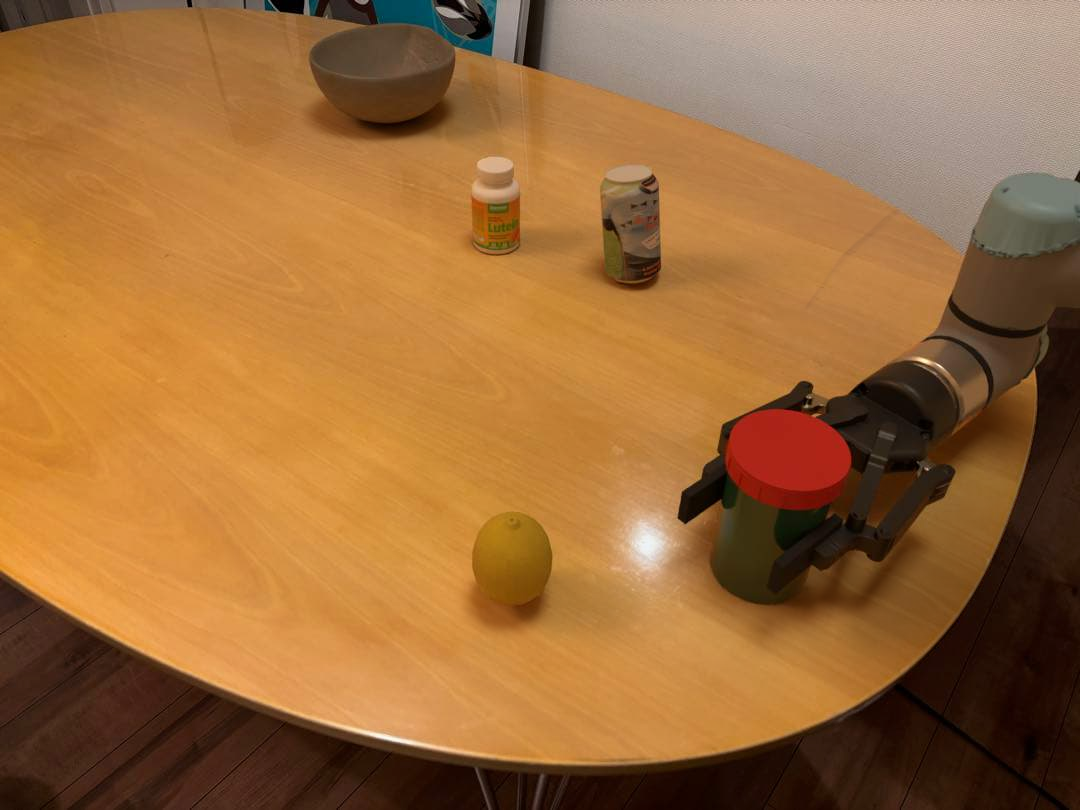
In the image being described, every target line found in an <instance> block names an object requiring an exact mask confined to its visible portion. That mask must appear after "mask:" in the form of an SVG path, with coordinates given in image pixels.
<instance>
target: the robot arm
mask: <svg viewBox="0 0 1080 810" xmlns="http://www.w3.org/2000/svg"><path fill="white" fill-rule="evenodd" d="M966 248H967V249H966V251H965V254H964V256H963V260H962V262H961V265H960V268H959V271H958V274H957V277H956V279H955V283H954V286H953V289H952V291H951V293H950V295H949V297H948V299H947V302H946V306H945V308H944V310H943V313H942V316H941V318H940V321H939V324H938V326H937V327H936V329H935V330H934V331H933V332H932V333H930V334H929V335H927V336H926V337H925V338H924V339H922V340H921V341H920V342H918V343H916V344H914V345H913V346H911V347H910V348H908V349H907V350H906V351H904V352H902V353H901V354H899V355H898V356H897V357H895V358H894V359H892V360H891V361H889V362H888V363H886V364H885V365H884V366H883V367H881V368H879V369H878V370H876V371H875V372H873V373H872V374H870V375H869V376H867V377H866V378H864V379H863V380H861V381H860V382H859V383H858V384H857V385H855V386H854V387H853V388H852V389H851V390H850V391H849V392H848V393H847V394H843V395H837V396H834V397H831V398H830V399H828V398H826V397H824V396H821V395H820V394H817V393H814V392H813V391H814V384H813V383H812V382H810V381H808V380H801V381H799V382H797V384H796V385H795V386H794V387H793V388H792V390H790V392H789V393H786V394H785V395H783V396H780V397H778V398H776V399H773V400H771V401H769V402H767V403H765V404H763V405H761V406H759V407H756V408H754V409H752V410H750V411H748V412H745V413H744V414H741V415H739V416H737V417H735V418H733V419H731V420H729V421H726V422H724V423H723V424H722V425H721V428H720V433H719V438H718V442H717V448H716V452H717V453H718V456H716V457H714V458H713V459H711V460H710V461H708V462H707V463H705V464H704V466H703V468H702V472H701V478H700V479H698V480H697V481H695V482H693V484H691V485H690V486H688V487H687V488H685V489H684V490H682V491H681V495H680V501H679V507H678V513H677V520H679V521H680V522H682V524H684V525H687V524H688V523H690V522H691V521H692V520H693V519H695V518H696V517H698V516H699V515H701V514H702V513H704V512H705V511H707V510H708V509H710V508H711V507H712V506H714V505H715V504H717V503H718V502H720V501H721V500H722V495H723V491H724V486H725V481H726V476H727V472H728V471H727V467H726V455H725V451H726V446H727V441H729V438H730V434H731V431H732V429H733V427H734V426H735V425H736V424H737V423H738V421H740V420H741V419H742V418H744V417H745V416H747V415H749V414H752V413H755V412H758V411H763V410H771V409H783V410H791V411H797V412H801V413H804V414H807V415H810V416H814V415H816V416H814V417H815V418H817V419H819V420H821V421H823V422H825V423H826V424H828V425H829V426H831V427H832V428H833V429H835V430H836V431H837V432H838V433H839V434H840V435H841V436H842V438H843V439H844V440H845V442H846V443H847V445H848V447H849V450H850V453H851V467H850V468H851V469H853V471H856V472H857V473H859V474H860V475H861V474H862V476H861V479H860V482H859V485H858V487H857V490H856V493H855V496H854V499H853V501H852V504H851V506H850V509H849V511H848V515H847V517H846V520H845V519H844V518H843V517H841V516H840V515H839V514H837V513H835V512H834V513H832V514H831V515H830V516H828V518H827V519H826V520H825V521H824V522H822V523H821V524H820V525H819V526H817V527H816V528H815V529H814V530H812V531H811V532H810V533H809V534H807V535H806V536H805V537H803V538H802V539H801V540H800V541H798V542H797V543H796V544H795V545H793V546H792V547H791V548H790V549H788V550H787V551H786V552H784V553H783V554H782V555H781V556H779V557H778V558H777V559H776V560H774V562H773V566H772V569H771V573H770V576H769V580H768V583H767V587H766V588H768V589H769V590H770V591H771V592H773V593H774V594H775V595H776V594H777V593H778V592H779V591H780V590H782V589H783V588H784V587H785V586H787V585H788V584H789V583H790V582H791V581H793V580H794V579H795V578H796V577H797V576H799V575H800V574H801V573H802V572H804V571H805V570H806V569H807V568H808V567H810V566H811V565H812V567H814V568H816V569H817V570H818V571H820V572H824V571H827V570H829V569H830V568H831V567H833V565H835V564H836V563H837V562H839V561H840V560H841V559H843V558H844V557H845V556H846V555H847V554H848V553H850V552H853V551H859V552H862V553H865V554H866V557H867V558H868V559H869V560H870V561H871V562H874V563H882V562H883V561H885V559H887V557H888V556H889V554H890V553H891V552H892V550H893V549H894V548H895V547H896V545H897V544H898V543H899V542H900V540H901V539H902V538H903V536H904V535H905V534H906V533H907V531H909V529H910V527H911V526H912V525H913V524H914V523H915V521H916V520H917V519H918V517H919V516H920V515H921V513H922V512H923V511H924V510H925V508H926V507H928V506H929V505H931V504H934V503H936V502H938V501H940V500H942V499H945V497H946V496H947V492H948V490H949V488H950V486H951V483H952V481H953V479H954V478H955V474H956V469H955V468H954V466H952V465H950V464H948V463H941V464H938V465H936V463H934V462H932V460H930V459H929V458H928V456H929V455H930V454H932V453H933V452H934V451H935V450H936V449H938V448H939V447H941V445H943V444H944V443H945V442H946V441H947V440H949V438H950V437H952V436H953V435H955V434H956V433H957V432H958V431H959V430H961V429H962V428H964V427H965V426H966V425H967V424H968V423H970V422H971V421H972V420H973V419H975V418H976V417H977V416H978V415H980V414H981V413H982V412H983V411H984V410H985V409H986V408H987V407H989V406H990V405H992V404H993V403H994V402H995V401H997V400H998V399H999V398H1001V397H1002V396H1004V395H1005V394H1006V393H1008V392H1009V391H1010V390H1011V389H1013V388H1014V387H1016V386H1018V385H1020V384H1021V383H1022V381H1023V380H1026V379H1028V377H1029V376H1030V375H1031V374H1032V372H1033V371H1034V369H1035V368H1036V367H1037V366H1038V365H1039V364H1040V363H1041V362H1042V360H1043V359H1044V358H1045V356H1046V354H1047V351H1048V349H1049V345H1050V344H1049V343H1050V338H1049V331H1048V325H1047V324H1048V322H1049V319H1050V318H1051V316H1052V314H1053V312H1054V311H1055V309H1056V308H1070V309H1080V182H1079V181H1076V180H1074V179H1071V178H1069V177H1059V176H1055V175H1054V174H1051V173H1047V172H1038V171H1037V172H1029V171H1028V172H1019V173H1016V174H1012V175H1009V176H1007V177H1005V178H1003V179H1001V180H1000V181H999V182H997V183H996V184H995V186H994V187H993V188H992V190H991V192H990V194H989V196H988V198H987V200H986V201H985V202H984V206H983V207H982V210H981V212H980V214H979V217H978V219H977V221H976V223H975V224H974V226H973V228H972V230H971V233H970V239H969V241H968V246H967V247H966ZM911 473H915V475H914V476H913V480H912V483H911V485H910V486H909V487H908V488H907V490H905V492H904V493H903V494H902V496H900V498H899V499H898V500H897V501H896V503H894V506H892V507H891V509H890V510H889V511H888V512H887V514H886V515H885V516H884V517H883V518H882V520H881V521H880V522H879V523H878V525H877V526H876V527H875V526H874V525H873V526H872V525H871V524H867V521H868V518H869V514H870V512H871V509H872V506H873V503H874V501H875V497H876V494H877V492H878V489H879V487H880V483H881V480H882V478H883V475H885V474H886V475H889V474H890V475H891V474H911ZM844 521H845V522H844Z"/></svg>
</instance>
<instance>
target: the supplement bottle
mask: <svg viewBox="0 0 1080 810" xmlns="http://www.w3.org/2000/svg"><path fill="white" fill-rule="evenodd" d="M514 176H515V168H514V163H513V161H512V160H510V159H509V158H506V157H504V156H488V157H484V158H482V159H479V160H478V162H476V177H477V178H476V179H475V180H474V182H472V185H471V188H470V189H471V190H470V192H471V193H470V196H471V197H470V198H471V221H472V223H471V224H472V243H473V245H474V247H475V248H476V249H477V250H478V251H480V252H483V253H485V254H489V255H504V254H505V255H506V254H508V253H510V252H513V251H514V250H516V249H517V248H519V245H520V241H521V187H520V184H519V182H518V181H517V180H516V179H514Z"/></svg>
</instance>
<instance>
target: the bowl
mask: <svg viewBox="0 0 1080 810" xmlns="http://www.w3.org/2000/svg"><path fill="white" fill-rule="evenodd" d="M456 55H457V54H456V49H455V46H454V45H453V43H452V42H450V41H449V40H447V39H446V38H444V37H443V36H442V35H441V34H439V33H437V32H435V30H434V29H432V28H430V27H427V26H422V25H419V24H411V23H400V22H398V23H397V22H395V23H394V22H391V23H390V22H389V23H377V24H369V25H363V26H357V27H353V28H349V29H345V30H343V31H340V32H336V33H334V34H330V35H329V36H326V37H324V38H323V39H321V40H319V41H317V43H315V44H314V45H313V46H312V48H311V49H310V51H309V53H308V60H309V61H308V62H309V66H310V71H311V74H312V76H313V78H314V81H315V83H316V84H317V86H318V88H319V90H320V91H321V93H322V95H323V96H324V97H325V99H326V100H328V102H329V103H330V104H331V105H332V106H333V107H335V108H336V109H337V110H338V111H340V112H341V113H344V114H345V115H348V116H349V117H352V118H354V119H358V120H361V121H366V122H369V123H378V124H394V123H396V124H397V123H401V122H405V121H409V120H412V119H415V118H417V117H420V116H422V115H423V114H425V113H427V112H429V111H430V110H431V109H433V108H434V107H435V106H437V104H438V103H440V101H441V100H442V99H443V97H444V96H445V95H446V93H447V91H448V89H449V86H450V84H451V82H452V79H453V76H454V71H455V66H456Z"/></svg>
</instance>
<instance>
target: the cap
mask: <svg viewBox="0 0 1080 810" xmlns="http://www.w3.org/2000/svg"><path fill="white" fill-rule="evenodd" d="M815 417H816V416H814V415H812V416H810V415H807V414H804V413H801V412H797V411H791V410H783V409H771V410H763V411H758V412H755V413H752V414H749V415H747V416H745V417H744V418H742V419H741V420H740V421H738V423H737V424H736V425H735V426H734V427H733V429H732V431H731V434H730V438H729V441H727V446H726V451H725V455H726V467H727V471H728V473H729V475H730V477H731V478H732V480H733V481H734V482H735V484H736V485H737V486H738V487H739V488H740V489H741V490H743V491H744V492H745V493H746V494H748V495H749V496H751V497H752V498H754V499H756V500H758V501H760V502H762V503H765V504H767V505H770V506H773V507H777V508H782V509H788V510H809V509H814V508H818V507H821V506H824V505H827V504H828V503H830V502H831V501H833V502H834V500H835V499H837V497H839V495H842V494H843V491H844V490H843V489H844V487H845V485H846V481H847V479H848V477H849V473H850V470H851V468H852V467H851V453H850V450H849V447H848V445H847V443H846V442H845V440H844V439H843V438H842V436H841V435H840V434H839V433H838V432H837V431H836V430H835V429H833V428H832V427H831V426H829V425H828V424H826V423H825V422H823V421H821V420H819V419H817V418H815Z"/></svg>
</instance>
